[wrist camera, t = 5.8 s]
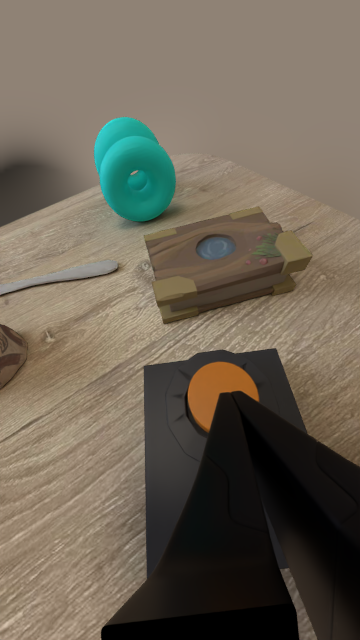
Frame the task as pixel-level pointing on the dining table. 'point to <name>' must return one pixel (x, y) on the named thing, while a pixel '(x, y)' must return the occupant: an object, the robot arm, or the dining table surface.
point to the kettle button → (216, 389)
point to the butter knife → (63, 275)
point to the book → (222, 262)
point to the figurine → (10, 353)
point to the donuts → (127, 156)
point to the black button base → (195, 436)
